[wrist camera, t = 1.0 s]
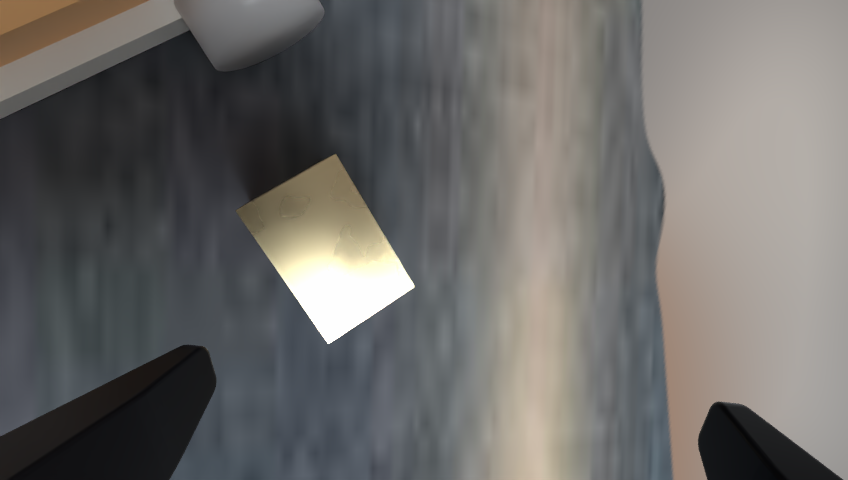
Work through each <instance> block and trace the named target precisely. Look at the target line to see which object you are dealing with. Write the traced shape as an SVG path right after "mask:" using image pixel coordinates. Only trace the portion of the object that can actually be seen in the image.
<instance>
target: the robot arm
mask: <svg viewBox="0 0 848 480" xmlns="http://www.w3.org/2000/svg"><path fill="white" fill-rule="evenodd" d="M215 387H216V375H215V371H214V368H213V365H212V361H211V358H210V354H209V351H208V350H207V349H206V348H205V347H203V346H196V345H182V346H180V347H178V348H176V349H174V350H172V351H170V352H168V353H166V354H164V355H162V356H160V357H158V358H156V359H154V360H152V361H150V362H148V363H146V364H144V365H142V366H140V367H138V368H136V369H134V370H132V371H130V372H128V373H126V374H124V375H122V376H120V377H118V378H116V379H114V380H112V381H110V382H108V383H106V384H104V385H102V386H100V387H98V388H96V389H94V390H92V391H90V392H88V393H86V394H84V395H82V396H80V397H78V398H76V399H74V400H72V401H70V402H68V403H66V404H64V405H62V406H60V407H58V408H56V409H54V410H52V411H50V412H48V413H46V414H44V415H42V416H40V417H38V418H36V419H34V420H32V421H30V422H28V423H26V424H24V425H22V426H20V427H18V428H16V429H14V430H12V431H10V432H8V433H6V434H4V435H3V436H1V437H0V480H169V479H170V478H171V476H172V474H173V472H174V471H175V469H176V467H177V465H178V463H179V461H180V460H181V458H182V456H183V454H184V452H185V450H186V448H187V446H188V444H189V442H190V440H191V438H192V436H193V434H194V431H195V429H196V427H197V425H198V423H199V421H200V419H201V417H202V415H203V413H204V411H205V409H206V407H207V405H208V403H209V401H210V399H211V397H212V395H213V393H214V390H215ZM698 447H699V452H700V455H701V459H702V462H703V466H704V469H705V473H706V476H707V480H843V479H842V478H840V477H839V476H838V475H836V474H835V473H833V472H832V471H831V470H830V469H828V468H827V467H826V466H824V465H823V464H822V463H820V462H819V461H818V460H817V459H815V458H814V457H813V456H811V455H810V454H809V453H807V452H806V451H805V450H803V449H802V448H801V447H799V446H798V445H797V444H795V443H794V442H793V441H791V440H790V439H789V438H788V437H786V436H785V435H784V434H782V433H781V432H779V431H778V430H777V429H775V428H774V427H773V426H772V425H770V424H769V423H768V422H766V421H765V420H764V419H763V418H761V417H759V416H758V415H757V414H756V413H755V412H753V411H752V410H751V409H749V408H748V407H746V406H744V405H741V404H736V403H727V402H716V403H714V404H713V405H712V406H711V407H710V409H709V412H708V414H707V417H706V419H705V421H704V424H703V426H702V429H701V431H700V433H699V438H698Z"/></svg>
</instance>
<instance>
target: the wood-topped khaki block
mask: <svg viewBox="0 0 848 480" xmlns="http://www.w3.org/2000/svg"><path fill="white" fill-rule="evenodd" d="M236 212H237V214H238V215H239V216H240V218H241V219H242V221H243V222H244V224H245V225H246V227H247V228H248V229H249V231H250V232H251V234H252V235H253V237H254V238H255V239H256V241H257V242H258V244H259V245H260V247H261V248H262V249H263V251H264V252H265V254H266V255H267V257H268V258H269V259H270V261H271V262H272V264H273V265H274V267H275V268H276V270H277V271H278V272H279V274H280V275H281V277H282V278H283V280H284V281H285V282H286V284H287V285H288V287H289V288H290V290H291V291H292V292H293V294H294V295H295V297H296V298H297V300H298V301H299V302H300V304H301V305H302V307H303V308H304V310H305V311H306V313H307V314H308V315H309V317H310V318H311V320H312V321H313V323H314V324H315V325H316V327H317V328H318V330H319V331H320V333H321V334H322V335H323V337H324V338H325V340H326V341H327V343H328V344H329V343H331V342H332V341H334V340H335V339H337V338H338V337H340V336H341V335H343V334H344V333H346V332H347V331H349V330H350V329H352V328H353V327H355V326H356V325H358V324H359V323H361V322H362V321H364V320H366V319H367V318H369V317H370V316H372V315H373V314H375V313H376V312H378V311H379V310H381V309H382V308H384V307H385V306H387V305H388V304H390V303H391V302H393V301H394V300H396V299H397V298H399V297H400V296H402V295H403V294H405V293H406V292H408V291H409V290H411V289H412V288H414V287H415V286H414V285H413V283H412V281H411V279H410V278H409V276H408V274H407V273H406V271H405V269H404V268H403V266H402V264H401V263H400V261H399V259H398V258H397V256H396V254H395V253H394V251H393V249H392V248H391V246H390V244H389V242H388V241H387V239H386V237H385V236H384V234H383V232H382V231H381V229H380V227H379V226H378V224H377V222H376V221H375V219H374V217H373V216H372V214H371V212H370V211H369V209H368V207H367V205H366V204H365V202H364V200H363V199H362V197H361V195H360V194H359V192H358V190H357V189H356V187H355V185H354V184H353V182H352V180H351V179H350V177H349V175H348V174H347V172H346V170H345V169H344V167H343V165H342V163H341V162H340V160H339V158H338V157H337V155H336V154H334V155H332V156H330V157H328V158H325V159H323V160H322V161H320V162H318V163H316V164H314V165H313V166H311V167H309V168H307V169H306V170H304V171H302V172H300V173H299V174H297V175H295V176H293V177H292V178H290V179H288V180H286V181H285V182H283V183H281V184H279V185H277V186H276V187H274V188H272V189H270V190H269V191H267V192H265V193H263V194H262V195H260V196H258V197H256V198H255V199H253V200H251V201H249V202H248V203H246V204H245V205H243V206H242V207H240V208H239V209H237V210H236Z"/></svg>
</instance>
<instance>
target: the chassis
mask: <svg viewBox="0 0 848 480" xmlns="http://www.w3.org/2000/svg"><path fill="white" fill-rule="evenodd" d="M323 16H324V8H323V7H322V5H321V3H320V1H319V0H0V119H2V118H4V117H6V116H8V115H10V114H12V113H14V112H17V111H19V110H21V109H23V108H25V107H27V106H29V105H31V104H34V103H36V102H38V101H40V100H42V99H44V98H46V97H48V96H50V95H53V94H55V93H57V92H59V91H61V90H63V89H65V88H67V87H70V86H72V85H74V84H76V83H78V82H80V81H82V80H84V79H87V78H89V77H91V76H93V75H95V74H97V73H99V72H101V71H104V70H106V69H108V68H110V67H112V66H114V65H116V64H118V63H121V62H123V61H125V60H127V59H129V58H131V57H133V56H135V55H138V54H140V53H142V52H144V51H146V50H148V49H150V48H152V47H155V46H157V45H159V44H161V43H163V42H165V41H167V40H169V39H172V38H174V37H176V36H178V35H180V34H182V33H184V32H186V31H189V30H190V31H191V32H192V34H193V35H194V37H195V39H196V40H197V42H198V43H199V45H200V46H201V48H202V49H203V51H204V53H205V54H206V56H207V57H208V59H209V60H210V62H211V63H212V65H213V66H214V68H215V69H216V70H218V71H222V72H227V71H235V70H239V69H243V68H246V67H249V66H252V65H255V64H257V63H260V62H262V61H264V60H267V59H269V58H271V57H273V56H275V55H277V54H279V53H280V52H282V51H284V50H286V49H287V48H289V47H291V46H292V45H294V44H295V43H297V42H298V41H300V40H301V39H302V38H304V37H305V36H306V35H307V34H309V33H310V32H311V31H312V30H313V29H314V28H315V27H316V26H317V25H318V24H319V23H320V21H321V20H322V18H323Z"/></svg>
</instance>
